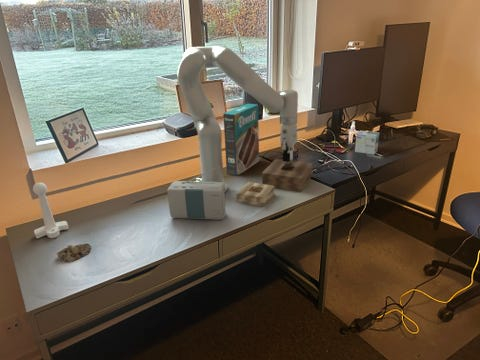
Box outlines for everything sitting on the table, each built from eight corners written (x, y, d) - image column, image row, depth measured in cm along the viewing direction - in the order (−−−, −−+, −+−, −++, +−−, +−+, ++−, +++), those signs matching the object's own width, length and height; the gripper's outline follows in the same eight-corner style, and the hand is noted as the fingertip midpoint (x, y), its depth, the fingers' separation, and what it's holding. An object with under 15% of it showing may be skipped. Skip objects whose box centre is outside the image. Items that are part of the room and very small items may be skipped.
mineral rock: (58, 261, 118) (54, 244, 123) (60, 270, 121) (56, 253, 126) (93, 251, 123) (88, 235, 128) (95, 260, 126) (89, 244, 131)
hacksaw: (314, 174, 179) (314, 172, 178) (300, 168, 187) (300, 165, 186) (350, 163, 190) (350, 161, 189) (335, 158, 198) (335, 155, 197)
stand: (237, 201, 155) (236, 193, 154) (248, 190, 165) (248, 181, 164) (264, 206, 151) (264, 197, 149) (274, 194, 160) (274, 185, 159)
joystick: (66, 224, 143) (54, 176, 135) (71, 232, 137) (58, 183, 129) (34, 234, 137) (19, 185, 129) (38, 243, 132) (22, 192, 124)
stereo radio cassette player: (170, 220, 143) (163, 172, 135) (176, 209, 151) (170, 164, 143) (223, 222, 140) (220, 173, 132) (227, 211, 148) (224, 165, 140)
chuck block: (262, 185, 169) (261, 172, 166) (275, 171, 183) (275, 159, 181) (300, 192, 161) (301, 178, 159) (311, 176, 176) (312, 163, 174)
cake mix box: (237, 175, 180) (234, 114, 168) (226, 173, 183) (223, 113, 171) (259, 161, 197) (258, 104, 185) (249, 159, 200) (247, 103, 188)
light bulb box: (377, 151, 204) (379, 132, 200) (374, 155, 199) (376, 135, 195) (357, 148, 209) (359, 129, 205) (354, 152, 204) (356, 133, 200)
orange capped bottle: (282, 166, 168) (282, 143, 164) (285, 163, 172) (285, 140, 167) (291, 167, 167) (291, 144, 162) (293, 164, 170) (294, 141, 166)
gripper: (290, 125, 152) (290, 167, 160) (302, 115, 166) (301, 154, 173) (273, 124, 155) (273, 165, 163) (286, 114, 169) (285, 152, 176)
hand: (287, 159), depth 168 cm, fingers closed on orange capped bottle, 4 cm apart
